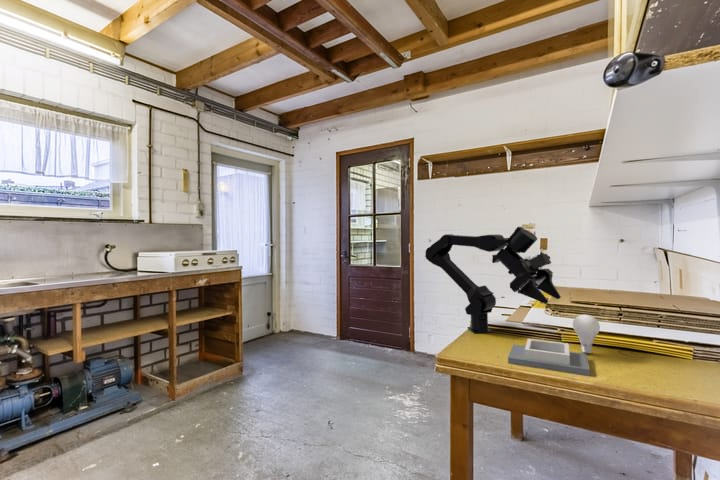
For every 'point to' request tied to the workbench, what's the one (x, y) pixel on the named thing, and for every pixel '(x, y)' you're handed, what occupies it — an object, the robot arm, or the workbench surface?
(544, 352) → the holder
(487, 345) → the workbench surface
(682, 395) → the workbench surface
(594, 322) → the lightbulb
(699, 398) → the workbench surface
